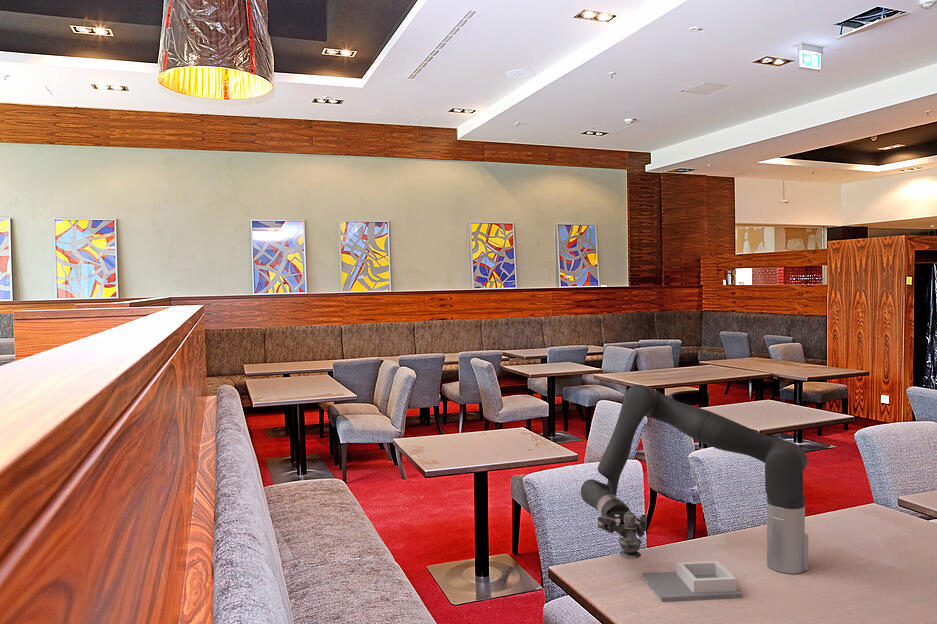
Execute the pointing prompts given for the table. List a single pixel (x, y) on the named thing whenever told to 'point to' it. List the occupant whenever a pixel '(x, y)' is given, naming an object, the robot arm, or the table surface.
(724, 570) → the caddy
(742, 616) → the table surface
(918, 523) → the table surface
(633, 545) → the salt shaker
